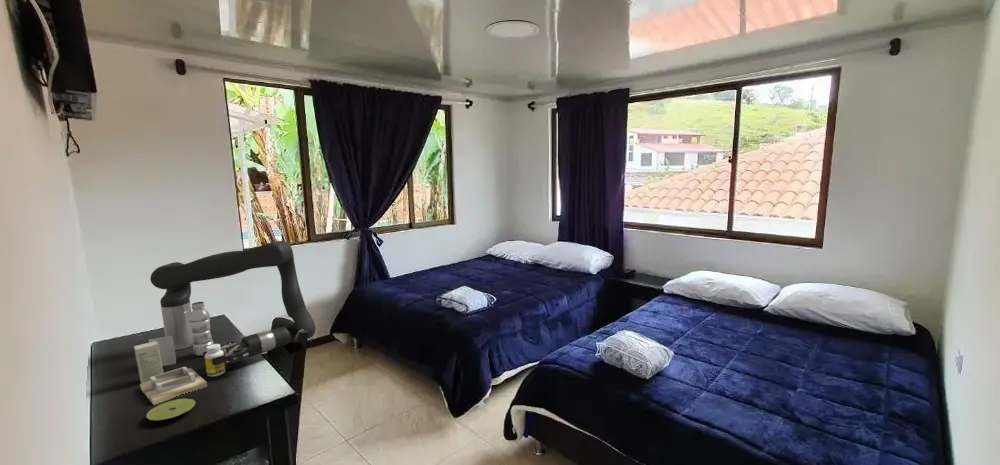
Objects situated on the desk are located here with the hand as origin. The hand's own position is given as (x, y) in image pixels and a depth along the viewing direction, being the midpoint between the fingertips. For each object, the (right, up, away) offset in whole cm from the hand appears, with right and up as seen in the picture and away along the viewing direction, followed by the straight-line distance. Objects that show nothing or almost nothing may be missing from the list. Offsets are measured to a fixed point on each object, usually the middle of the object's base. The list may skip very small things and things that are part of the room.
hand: (207, 358), depth 148 cm
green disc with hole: (+5, -10, -23) cm, 25 cm away
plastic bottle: (-14, -4, +19) cm, 23 cm away
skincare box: (-18, -7, -1) cm, 19 cm away
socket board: (-6, -7, -7) cm, 12 cm away
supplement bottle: (+1, -6, +3) cm, 7 cm away
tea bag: (-23, -5, +11) cm, 26 cm away
